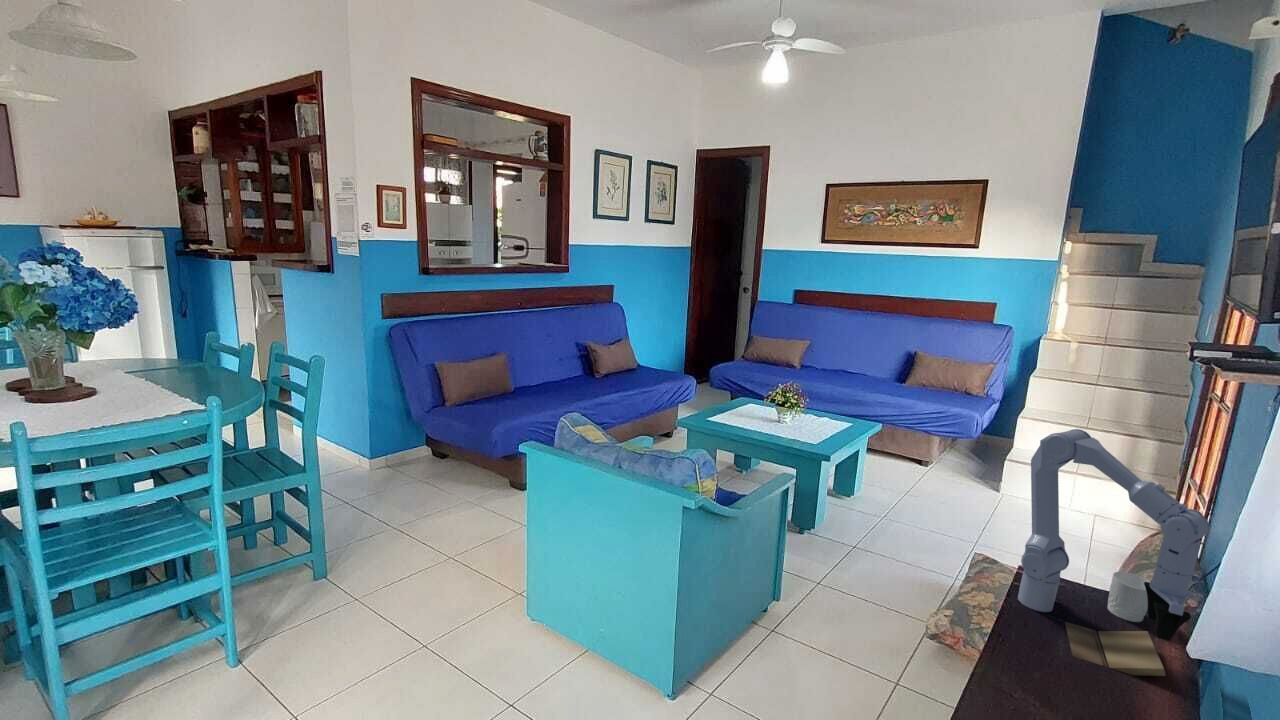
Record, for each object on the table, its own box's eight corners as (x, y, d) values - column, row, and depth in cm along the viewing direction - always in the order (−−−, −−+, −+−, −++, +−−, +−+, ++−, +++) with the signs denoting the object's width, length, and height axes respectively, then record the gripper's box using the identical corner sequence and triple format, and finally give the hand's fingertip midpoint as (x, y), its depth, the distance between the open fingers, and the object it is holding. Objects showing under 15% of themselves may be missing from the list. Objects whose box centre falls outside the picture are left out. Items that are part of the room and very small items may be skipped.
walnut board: (1063, 627, 146) (1064, 621, 146) (1094, 636, 144) (1096, 630, 143) (1071, 662, 134) (1072, 655, 134) (1105, 673, 131) (1107, 666, 131)
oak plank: (1099, 637, 143) (1097, 631, 143) (1148, 637, 139) (1147, 631, 139) (1110, 674, 131) (1109, 667, 131) (1165, 675, 127) (1164, 668, 127)
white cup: (1099, 616, 152) (1109, 578, 150) (1107, 604, 157) (1117, 568, 155) (1140, 633, 146) (1151, 594, 144) (1147, 621, 152) (1158, 583, 149)
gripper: (1210, 591, 121) (1193, 655, 124) (1189, 559, 133) (1174, 617, 136) (1163, 579, 124) (1147, 642, 127) (1147, 549, 137) (1133, 606, 139)
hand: (1158, 628), depth 132 cm, fingers open, 7 cm apart
